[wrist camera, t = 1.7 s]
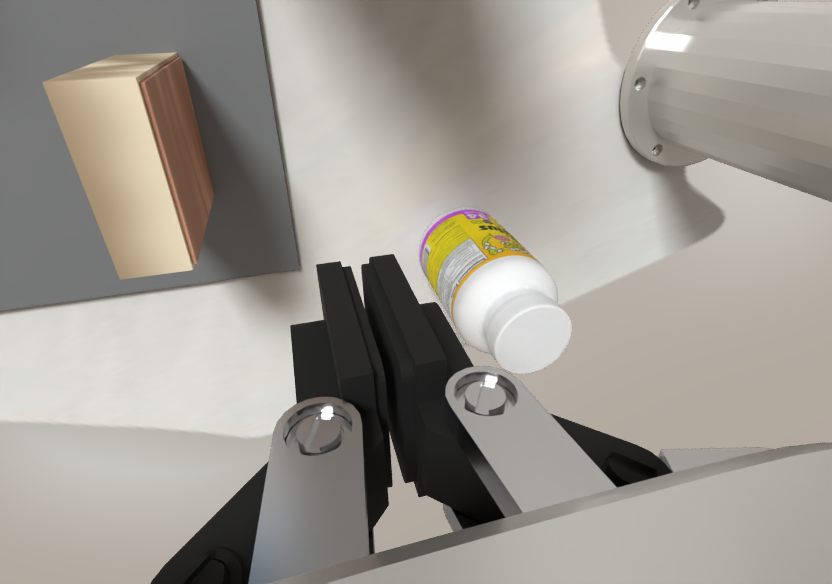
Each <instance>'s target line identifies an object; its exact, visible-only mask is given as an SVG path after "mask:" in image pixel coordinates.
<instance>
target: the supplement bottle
mask: <svg viewBox="0 0 832 584" xmlns="http://www.w3.org/2000/svg"><path fill="white" fill-rule="evenodd" d="M419 261H420V264H421V267H422V269H423V271H424V273H425V275H426V277H427V278H428V280H429V282H430V284H431V285H432V287H433V289H434V290H435V292H436V294H437V295H438V297H439V299H440V300H441V302H442V304H443V305H444V307H445V309H446V311H447V312H448V314H449V316H450V317H451V319H452V321H453V323H454V324H455V326H456V328H457V330H458V331H459V333H460V335H461V336H462V337H463V339H464V340H465V341H466V342H467V343H468V344H469V345H470V346H472V347H474V348H475V349H477V350H479V351H481V352H485V353H489V354H491V355H492V356H493V357H494V359H495V360H496V361H497V363H498V364H499V365H500V366H501V367H502V368H503V369H504V370H506V371H508V372H510V373H514V374H528V373H533V372H536V371H539V370H541V369H543V368H545V367H547V366H548V365H550V364H551V363H552V362H554V361H555V360H556V359H557V358H558V357H559V356H560V355H561V354H562V352H563V351H564V350H565V348H566V346H567V344H568V342H569V340H570V337H571V331H572V326H571V321H570V318H569V317H568V315H567V314H566V312H565V311H564V310H563V309H562V308H561V307H560V306H559V304H558V293H557V287H556V284H555V281H554V279H553V277H552V276H551V274H550V273H549V272H548V270H547V269H546V268H545V267H544V266H543V265H542V264H541V263H540V262H538V261H537V260H536V259H535V258H534V257H533V256H532V255H531V254H530V253H529V252H528V251H527V250H526V249H525V248H524V247H523V246H522V245H521V244H520V243H519V242H518V241H517V240H516V239H514V238H513V236H512V235H510V234H509V233H508V232H507V231H506V230H505V229H504V228H503V227H502V226H501V225H500V224H499V223H498V222H497V221H496V220H494V219H493V218H492V217H491V216H490V215H488V214H487V213H485V212H484V211H482V210H479V209H476V208H470V207H461V208H455V209H452V210H449V211H447V212H445V213H443V214H441V215H440V216H438V217H437V218H435V219H434V220H433V221H432V222H431V224H430V225H429V226H428V227H427V229H426V230H425V232H424V234H423V236H422V238H421V241H420V245H419Z"/></svg>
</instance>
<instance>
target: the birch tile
mask: <svg viewBox="0 0 832 584" xmlns="http://www.w3.org/2000/svg"><path fill="white" fill-rule="evenodd" d="M42 83H43V85H44V88H45V91H46V93H47V96H48V98H49V101H50V103H51V106H52V108H53V111H54V113H55V116H56V118H57V121H58V124H59V126H60V129H61V131H62V134H63V136H64V139H65V141H66V144H67V146H68V149H69V152H70V154H71V157H72V159H73V162H74V164H75V167H76V169H77V172H78V174H79V177H80V179H81V182H82V185H83V187H84V190H85V192H86V195H87V197H88V200H89V202H90V205H91V207H92V210H93V212H94V215H95V218H96V220H97V223H98V225H99V228H100V230H101V233H102V235H103V238H104V240H105V243H106V246H107V248H108V251H109V253H110V256H111V258H112V261H113V263H114V266H115V268H116V271H117V273H118V276H119V279H120V280H122V279H130V278H137V277H145V276H152V275H160V274H167V273H175V272H183V271H190V270H193V268H194V264H197V262H198V258H199V254H200V250H201V246H202V242H203V238H204V234H205V230H206V226H207V222H208V218H209V214H210V210H211V206H212V202H213V198H214V194H215V192H214V188H213V184H212V180H211V176H210V172H209V168H208V163H207V159H206V155H205V151H204V147H203V143H202V139H201V135H200V131H199V127H198V123H197V119H196V115H195V111H194V107H193V103H192V99H191V94H190V90H189V86H188V82H187V78H186V74H185V70H184V66H183V62H182V58H181V57H178V56H177V52H176V53H152V54H127V55H114V56H111V57H108V58H106V59H103V60H100V61H98V62H95V63H92V64H90V65H87V66H84V67H82V68H79V69H76V70H74V71H71V72H68V73H66V74H63V75H60V76H58V77H55V78H52V79H50V80H47V81H44V82H42Z"/></svg>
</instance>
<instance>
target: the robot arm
mask: <svg viewBox="0 0 832 584" xmlns="http://www.w3.org/2000/svg"><path fill="white" fill-rule="evenodd" d="M620 112H621V121H622V125H623V128H624V132H625V135H626V137H627V138H628V140H629V142H630V144H631V145H632V147H633V148H634V149H635V150H636V151H637V152H638V153H639V154H640V155H641V156H643V157H645V158H647V159H648V160H650V161H653V162H655V163H658V164H661V165H663V166H672V167H679V166H688V165H691V164H695V163H698V162H701V161H703V160H705V159H707V158H710V159H713V160H716V161H719V162H722V163H724V164H727V165H730V166H733V167H736V168H738V169H741V170H744V171H747V172H750V173H752V174H755V175H758V176H761V177H764V178H766V179H769V180H772V181H774V182H778V183H780V184H783V185H786V186H788V187H791V188H794V189H797V190H800V191H802V192H805V193H808V194H811V195H813V196H816V197H819V198H822V199H825V200H828V201H830V202H832V2H778V0H668V2H667V3H665V5H664V6H663V7H662V8H661V9H660V10H659V11H658V12H657V13H656V14H655V15H654V17H653V18H652V20H651V21H650V22H649V23H648V25H647V26H646V28H645V29H644V31H643V32H642V34H641V36H640V37H639V39H638V41H637V43H636V45H635V47H634V48H633V51H632V54H631V56H630V59H629V61H628V64H627V66H626V69H625V73H624V78H623V82H622V86H621V97H620ZM316 267H317V274H318V281H319V288H320V295H321V302H322V309H323V316H324V320H321V321H315V322H309V323H302V324H296V325H291V340H292V352H293V364H294V376H295V388H296V400H297V404H296V405H294V406H293V407H291V408H290V409H289V410H287V411H286V412H285V413H284V414H283V415H282V417H281V418H280V419H279V420H278V422H277V424H276V427H275V429H274V432H273V437H272V444H271V450H270V456H269V461H268V462H267V464H265V465H264V466H263V467H262V468H261V470H259V471H258V473H256V474H255V476H253V477H252V478H251V479H250V480H249V481H248V482H247V483H246V484H245V485H244V486H243V487H242V488H241V489H240V490H239V491H238V492H237V493H236V494H235V495H234V496H233V498H231V500H229V502H227V503H226V504H225V505H224V506H223V507H222V508H221V509H220V510H219V511H218V512H217V513H216V515H214V516H213V517H212V519H210V520H209V521H208V522H207V523H206V525H204V526H203V527H202V528H201V529H200V530H199V531H198V533H196V534H195V535H194V537H192V538H191V539H190V540H189V541H188V542H187V543H186V544H185V546H183V547H182V549H180V550H179V551H178V552H177V553H176V554H175V555H174V557H172V558H171V559H170V560H169V561H168V562H167V563H166V564H165V566H164V567H163V568H162V569H161V570H160V572H159V573H158V574H157V575H156V577H155V578H154V579H153V580H152V582H151V584H832V443H816V444H807V445H799V446H789V447H782V448H777V449H769V448H760V447H754V448H753V447H752V448H712V449H711V448H707V449H662V450H661V451H660V454H659V456H655V455H654V454H653V453H652V452H650V451H648V450H646V449H644V448H642V447H640V446H638V445H635V444H632V443H630V442H627V441H624V440H621V439H619V438H616V437H613V436H610V435H608V434H605V433H602V432H599V431H596V430H594V429H591V428H588V427H585V426H583V425H580V424H577V423H575V422H572V421H569V420H566V419H564V418H561V417H558V416H555V415H553V414H550V413H549V412H548V411H547V410H546V409H545V408H544V407H543V406H542V405H541V404H540V402H539V401H538V400H537V399H536V398H535V397H534V396H533V395H532V394H531V393H530V391H529V390H528V389H527V388H526V387H525V386H524V385H523V384H522V383H521V382H520V381H519V380H518V379H517V378H516V377H515V376H513V375H512V374H510V373H508V372H506V371H504V370H502V369H498V368H494V367H490V366H475V367H474V366H473V364H472V363H471V361H470V359H469V357H468V356H467V354H466V352H465V350H464V349H463V347H462V345H461V343H460V342H459V340H458V338H457V336H456V335H455V333H454V331H453V329H452V328H451V326H450V324H449V322H448V321H447V319H446V317H445V316H444V314H443V312H442V310H441V309H440V307H439V305H438V304H437V303H436V302H432V303H425V304H419V303H418V301H417V299H416V297H415V295H414V293H413V291H412V289H411V287H410V285H409V283H408V281H407V279H406V277H405V275H404V273H403V271H402V270H401V268H400V266H399V264H398V262H397V260H396V258H395V256H394V255H393V254H390V255H383V256H376V257H370V259H369V264H363V265H362V267H361V269H362V281H363V293H364V304H365V309H364V306H363V303H362V300H361V297H360V293H359V290H358V287H357V284H356V281H355V278H354V275H353V272H352V269H351V266H348V267H342V265H341V262H340V261H339V262H332V263H325V264H318V265H316ZM389 432H390V435H391V439H392V442H393V445H394V449H395V452H396V455H397V459H398V462H399V466H400V469H401V473H402V476H403V479H404V482H405V483H409V482H413V481H414V484H415V487H416V490H417V493H418V496H419V497H422V496H426V495H427V496H429V497H431V498H433V499H435V500H437V501H439V502H441V503H443V510H444V513H445V516H446V519H447V520H448V522H449V524H450V526H451V528H452V530H453V532H452V533H448V534H445V535H441V536H437V537H434V538H430V539H427V540H423V541H419V542H415V543H412V544H408V545H405V546H401V547H397V548H394V549H390V550H386V551H383V552H379V553H375V545H374V531H373V527H374V526H375V525H376V523H377V522H378V520H379V519H380V517H381V516H382V514H383V513H384V511H385V510H386V508H387V507H388V505H389V502H388V487H392V469H391V453H390V438H389Z"/></svg>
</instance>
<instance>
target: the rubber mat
mask: <svg viewBox="0 0 832 584" xmlns="http://www.w3.org/2000/svg"><path fill="white" fill-rule="evenodd" d="M176 52H177V56H178V57H181V58H182V62H183V66H184V70H185V74H186V78H187V82H188V86H189V90H190V94H191V99H192V103H193V107H194V111H195V115H196V119H197V123H198V127H199V131H200V135H201V139H202V143H203V147H204V151H205V155H206V159H207V163H208V168H209V172H210V176H211V180H212V184H213V188H214V192H215V194H214V198H213V202H212V206H211V210H210V214H209V218H208V222H207V226H206V230H205V234H204V238H203V242H202V246H201V250H200V254H199V258H198V262H197V264H194V268H193V270H190V271H183V272H175V273H167V274H160V275H152V276H145V277H137V278H130V279H122V280H120V279H119V276H118V273H117V271H116V268H115V266H114V263H113V261H112V258H111V256H110V253H109V251H108V248H107V246H106V243H105V240H104V238H103V235H102V233H101V230H100V228H99V225H98V223H97V220H96V218H95V215H94V212H93V210H92V207H91V205H90V202H89V200H88V197H87V195H86V192H85V190H84V187H83V185H82V182H81V179H80V177H79V174H78V172H77V169H76V167H75V164H74V162H73V159H72V157H71V154H70V152H69V149H68V146H67V144H66V141H65V139H64V136H63V134H62V131H61V129H60V126H59V124H58V121H57V118H56V116H55V113H54V111H53V108H52V106H51V103H50V101H49V98H48V96H47V93H46V91H45V88H44V85H43V83H42V82H44V81H47V80H50V79H52V78H55V77H58V76H60V75H63V74H66V73H68V72H71V71H74V70H76V69H79V68H82V67H84V66H87V65H90V64H92V63H95V62H98V61H100V60H103V59H106V58H108V57H111V56H114V55H127V54H152V53H176ZM293 270H300V268H299V262H298V256H297V250H296V243H295V237H294V231H293V225H292V219H291V213H290V207H289V201H288V195H287V188H286V182H285V176H284V170H283V164H282V158H281V152H280V146H279V140H278V133H277V127H276V121H275V115H274V109H273V103H272V97H271V91H270V85H269V78H268V72H267V66H266V60H265V54H264V48H263V42H262V36H261V30H260V23H259V17H258V11H257V5H256V0H0V311H4V310H11V309H18V308H25V307H33V306H40V305H47V304H54V303H61V302H69V301H76V300H83V299H90V298H98V297H105V296H112V295H119V294H127V293H134V292H141V291H148V290H155V289H163V288H170V287H177V286H184V285H192V284H199V283H206V282H213V281H221V280H228V279H235V278H242V277H250V276H257V275H264V274H271V273H278V272H286V271H293Z"/></svg>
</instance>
